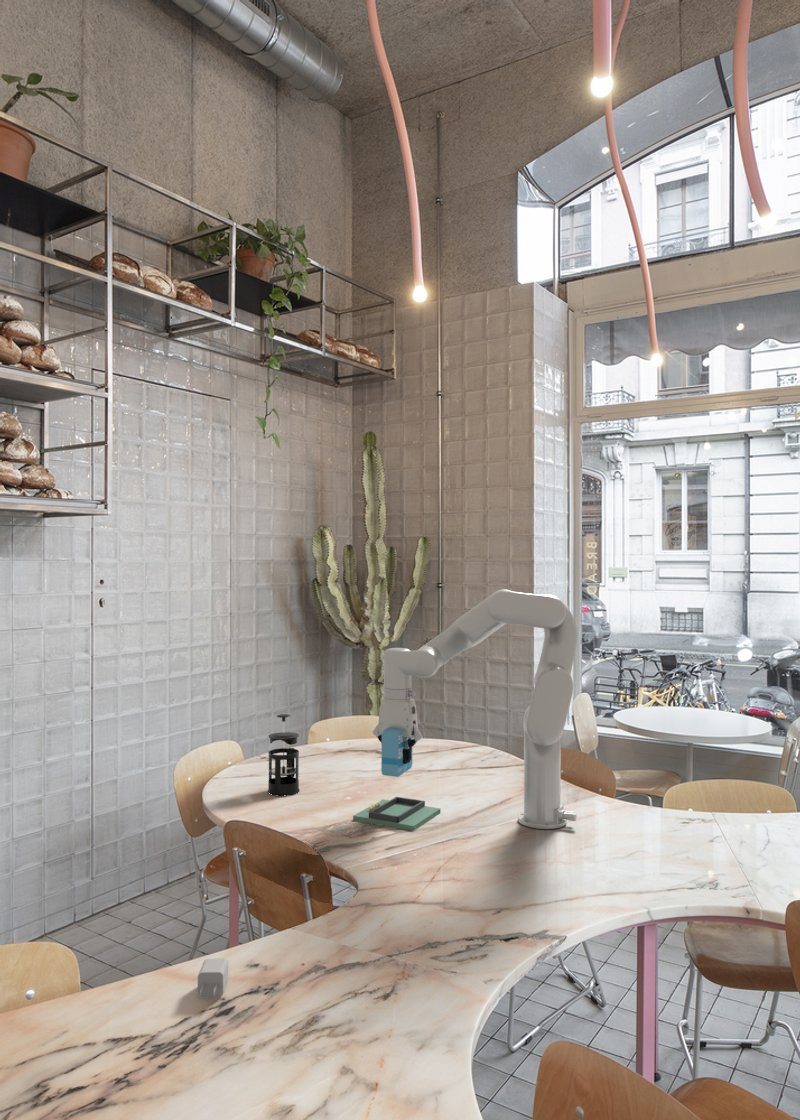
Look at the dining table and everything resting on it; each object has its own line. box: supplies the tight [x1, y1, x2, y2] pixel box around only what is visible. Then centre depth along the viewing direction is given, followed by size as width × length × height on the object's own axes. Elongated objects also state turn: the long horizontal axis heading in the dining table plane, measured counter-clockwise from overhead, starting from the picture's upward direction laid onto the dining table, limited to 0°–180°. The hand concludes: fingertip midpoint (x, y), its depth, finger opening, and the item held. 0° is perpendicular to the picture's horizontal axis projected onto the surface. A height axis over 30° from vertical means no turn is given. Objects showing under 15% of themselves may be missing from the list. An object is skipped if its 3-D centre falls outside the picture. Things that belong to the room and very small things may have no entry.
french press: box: [267, 713, 300, 797], centre depth 238 cm, size 12×9×23 cm
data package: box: [380, 728, 414, 778], centre depth 214 cm, size 12×4×12 cm, turn 159°
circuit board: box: [352, 796, 441, 832], centre depth 214 cm, size 18×16×3 cm
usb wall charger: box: [197, 958, 229, 999], centre depth 125 cm, size 4×7×4 cm, turn 2°
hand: (397, 761), depth 214 cm, fingers closed on data package, 4 cm apart
